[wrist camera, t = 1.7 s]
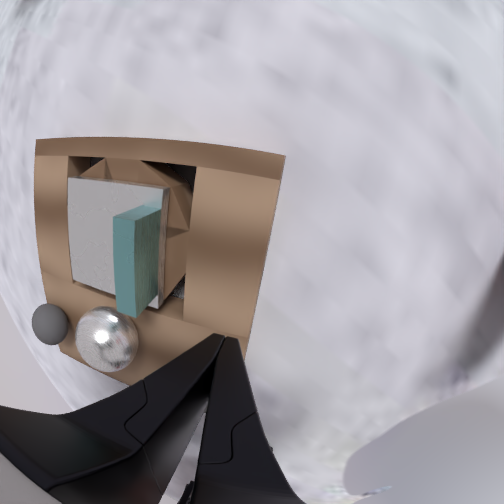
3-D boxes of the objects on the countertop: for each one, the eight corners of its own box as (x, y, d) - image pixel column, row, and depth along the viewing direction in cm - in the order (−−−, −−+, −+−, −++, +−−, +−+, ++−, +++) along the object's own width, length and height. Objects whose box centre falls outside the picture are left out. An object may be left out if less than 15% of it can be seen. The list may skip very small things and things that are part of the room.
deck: (236, 397, 22) (230, 417, 20) (73, 338, 23) (60, 351, 21) (285, 155, 15) (284, 155, 13) (57, 138, 16) (36, 139, 14)
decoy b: (79, 336, 19) (56, 359, 16) (53, 323, 20) (31, 343, 16) (72, 303, 18) (45, 325, 15) (46, 291, 18) (20, 310, 15)
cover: (163, 302, 16) (137, 333, 13) (79, 275, 17) (49, 296, 13) (169, 187, 14) (135, 197, 10) (76, 175, 14) (37, 184, 11)
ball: (150, 353, 18) (123, 394, 14) (102, 335, 19) (71, 369, 14) (148, 304, 17) (112, 344, 13) (95, 286, 17) (56, 318, 13)
